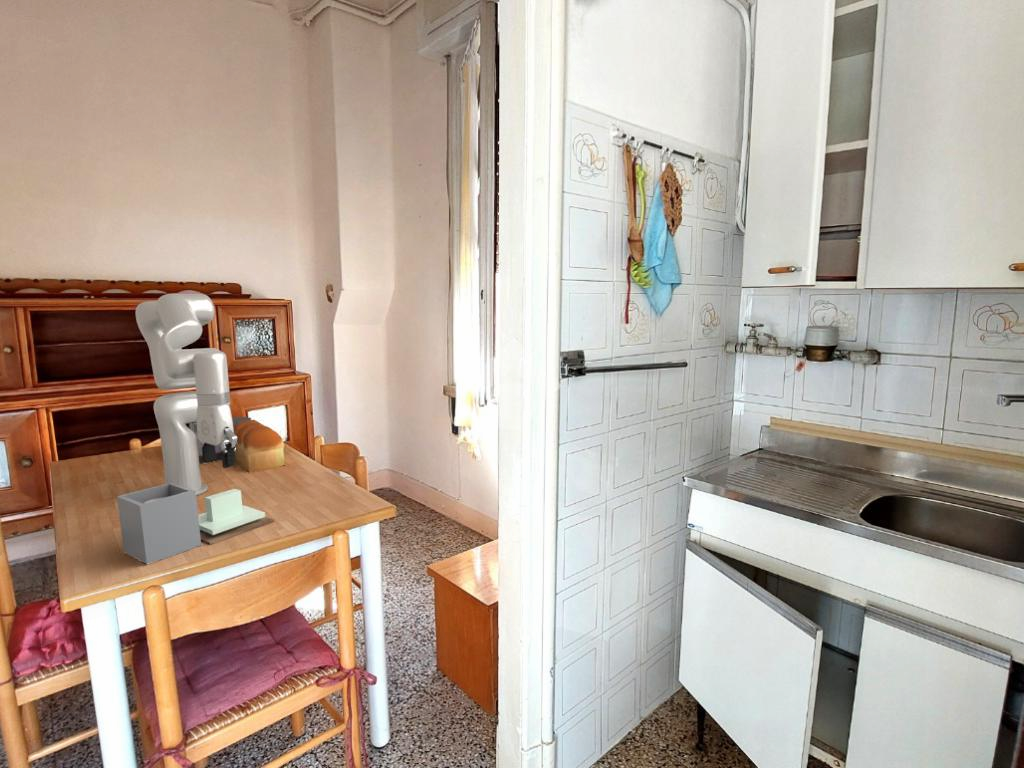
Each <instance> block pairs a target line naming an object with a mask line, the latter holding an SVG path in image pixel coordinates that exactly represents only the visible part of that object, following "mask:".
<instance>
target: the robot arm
mask: <svg viewBox="0 0 1024 768" xmlns="http://www.w3.org/2000/svg"><path fill="white" fill-rule="evenodd" d="M215 311H216V309H215V305H214V303H213V300H212V299H211V298H210V297H209V296H208V295H207V294H204V293H198V292H197V293H196V292H195V293H186V292H184V293H176V292H175V293H167V294H163V295H161V296H160V297H159V298H157V300H148V301H144V302H141V303H139V304H138V305H137V306H136V308H135V319H136V324H137V327H138V329H139V331H140V333H141V335H142V336H143V338H144V340H145V342H146V343H147V346H148V349H149V356H150V362H151V367H152V368H151V369H152V373H153V378H154V381H155V384H156V386H157V388H159V389H160V390H164V391H165V390H166V391H170V390H180V389H190V388H195V391H188V392H187V391H186V392H177V393H176V392H175V393H170V394H169V393H168V394H164V395H162V396H159V397H157V398H156V399H155V401H154V402H153V411H154V415H155V420H156V423H157V426H158V432H159V437H160V443H161V450H162V452H161V453H162V460H163V468H164V478H165V484H167V483H171V482H172V483H175V484H178V485H181V486H184V487H187V488H190V489H193V490H195V491H196V496H199V495H202V494H203V493H205V492H207V490H208V484H206V483H202V476H201V467H200V466H201V465H200V464H199V455H198V445H197V438H196V435H195V433H194V432H193V431H192V430H190V429H189V428H190V427H188V426H187V424H189V423H191V422H197V435H198V439H199V440H200V441H201V446H202V456H203V461H204V462H206V461H210V460H214V459H216V452H215V446H216V445H219V444H220V446H221V448H222V450H223V452H224V453H222V460H221V462H222V468H224V469H227V468H231V467H232V468H233V467H235V466H237V462H236V458H235V451H236V446H237V444H236V442H237V436H236V435H235V434H234V428H233V421H232V418H233V415H232V410H231V406H230V404H231V395H230V394H231V393H230V382H229V372H228V371H229V368H228V358H227V355H226V353H225V352H223V351H221V350H220V349H218V348H217V347H216V348H215V347H212V348H211V347H207V348H206V347H205V348H191V349H189V348H185V347H187V346H188V345H190V344H193V343H195V342H196V341H197V340H199V339H200V338H201V336H202V333H203V326H205V325H206V324H207V325H208V324H209V323H210V322H212V320H213V319H214V317H215ZM182 348H185V349H182ZM225 444H228V445H227V447H226V446H225Z"/></svg>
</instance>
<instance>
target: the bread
mask: <svg viewBox="0 0 1024 768" xmlns="http://www.w3.org/2000/svg"><path fill="white" fill-rule="evenodd" d="M234 434H235V435H236V436H237V442H236V444H237V446H236V451H235V458H236V461H237V462H238V463H239V464H238V463H237V462H236V463H237V464H238V465H240V466H241V465H242V466H243V467H244V468H243V467H242V466H241V467H242V468H243V469H244V470H246V471H247V470H248V471H249V472H248V471H247V472H248V473H250V472H252V473H256V472H255V471H258V472H261V471H260V470H263V471H266V470H265V469H268V470H271V469H270V468H273V469H276V468H275V467H278V468H280V467H279V466H283V465H285V453H284V452H285V451H284V448H285V443H284V440H283V438H282V437H281V435H280V434H279V433H278V432H277V431H275V430H274V429H272V428H271V427H269V426H267V425H264V424H262V423H260V422H259V421H258V420H255V419H251V420H247V421H241V422H239V423H238V424H237V425H236V426H235V427H234ZM285 466H286V465H285ZM283 467H284V466H283Z"/></svg>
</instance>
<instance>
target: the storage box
mask: <svg viewBox="0 0 1024 768" xmlns="http://www.w3.org/2000/svg"><path fill="white" fill-rule="evenodd" d="M156 498H162V499H158V500H154V501H151V502H147V503H145V502H146V501H149V500H152V499H156ZM116 500H117V509H118V515H119V517H118V518H119V523H120V532H121V539H122V547H123V553H124V552H126V553H128V554H129V555H131V556H133V557H135V558H137V559H139V560H141V561H143V562H145V563H146V564H148V563H151V562H154V561H157V560H160V559H163V560H165V559H164V558H166V559H168V558H171V557H174V556H176V554H177V555H179V553H180V554H182V553H184V551H185V552H188V551H190V549H191V550H193V549H196V548H198V547H197V546H199V547H201V546H202V541H201V538H200V529H199V519H198V515H199V511H198V501H197V495H196V491H195V490H193V489H190V488H187V487H184V486H181V485H178V484H175V483H172V482H171V483H167V484H166V483H165V484H158V485H156V486H152V487H148V488H147V487H146V488H144V489H141V490H136V491H132V492H128V493H125V494H121V495H118V496H116ZM200 545H201V546H200ZM195 547H196V548H195ZM187 550H188V551H187ZM129 555H128V556H129ZM131 556H130V557H131ZM170 556H171V557H170ZM133 557H132V558H133ZM167 557H168V558H167ZM135 558H134V559H135ZM160 561H161V560H160ZM157 562H158V561H157ZM146 564H145V565H146Z"/></svg>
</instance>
